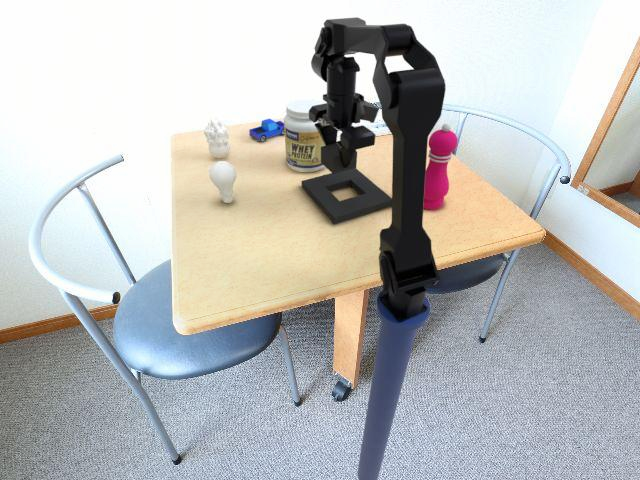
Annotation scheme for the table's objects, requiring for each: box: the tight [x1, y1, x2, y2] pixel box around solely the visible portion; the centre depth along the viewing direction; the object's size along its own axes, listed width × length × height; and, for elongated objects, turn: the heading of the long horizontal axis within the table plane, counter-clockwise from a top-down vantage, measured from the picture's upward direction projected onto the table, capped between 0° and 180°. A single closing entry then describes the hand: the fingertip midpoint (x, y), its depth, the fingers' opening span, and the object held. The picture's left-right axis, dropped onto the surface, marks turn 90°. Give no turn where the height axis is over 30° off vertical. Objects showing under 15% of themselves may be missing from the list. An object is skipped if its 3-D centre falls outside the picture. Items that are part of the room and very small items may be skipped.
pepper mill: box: [423, 122, 459, 211], centre depth 84 cm, size 7×7×20 cm
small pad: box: [321, 143, 358, 174], centre depth 83 cm, size 6×6×4 cm
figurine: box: [203, 117, 231, 159], centre depth 106 cm, size 7×7×12 cm
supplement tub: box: [283, 98, 326, 173], centre depth 101 cm, size 12×12×17 cm
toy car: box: [248, 118, 285, 143], centre depth 119 cm, size 7×12×5 cm, turn 127°
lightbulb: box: [208, 160, 237, 204], centre depth 87 cm, size 6×6×11 cm
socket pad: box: [300, 167, 392, 225], centre depth 92 cm, size 18×16×2 cm
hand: (338, 161), depth 83 cm, fingers closed on small pad, 6 cm apart
